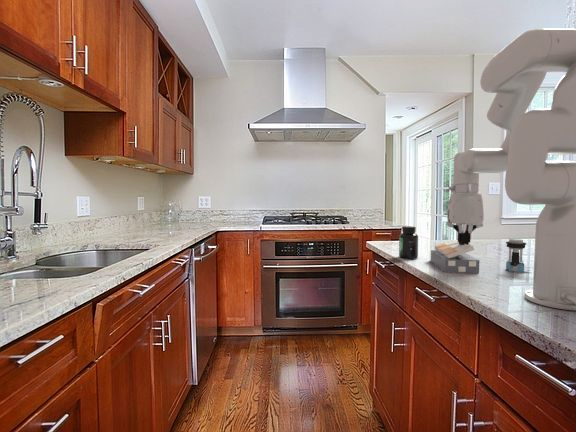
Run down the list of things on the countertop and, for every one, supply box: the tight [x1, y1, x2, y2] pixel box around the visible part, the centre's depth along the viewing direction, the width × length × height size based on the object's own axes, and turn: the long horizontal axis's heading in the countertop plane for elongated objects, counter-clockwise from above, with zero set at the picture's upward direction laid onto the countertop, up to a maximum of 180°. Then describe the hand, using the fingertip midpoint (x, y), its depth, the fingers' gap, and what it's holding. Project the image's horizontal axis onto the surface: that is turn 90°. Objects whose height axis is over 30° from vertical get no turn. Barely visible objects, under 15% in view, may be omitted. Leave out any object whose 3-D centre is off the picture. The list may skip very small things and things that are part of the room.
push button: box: [505, 238, 531, 273], centre depth 106 cm, size 7×5×10 cm
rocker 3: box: [444, 243, 475, 258], centre depth 107 cm, size 4×8×1 cm, turn 80°
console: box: [430, 249, 480, 274], centre depth 113 cm, size 18×10×5 cm, turn 170°
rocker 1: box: [434, 239, 459, 251], centre depth 119 cm, size 4×8×1 cm, turn 80°
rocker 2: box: [439, 243, 467, 254], centre depth 113 cm, size 4×8×1 cm, turn 80°
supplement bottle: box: [398, 225, 419, 260], centre depth 129 cm, size 7×7×12 cm
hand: (463, 244), depth 113 cm, fingers closed
